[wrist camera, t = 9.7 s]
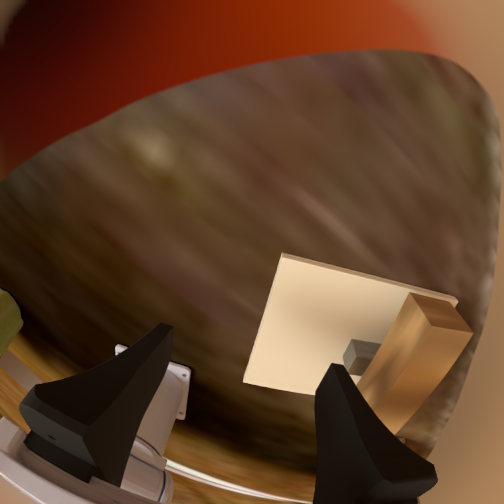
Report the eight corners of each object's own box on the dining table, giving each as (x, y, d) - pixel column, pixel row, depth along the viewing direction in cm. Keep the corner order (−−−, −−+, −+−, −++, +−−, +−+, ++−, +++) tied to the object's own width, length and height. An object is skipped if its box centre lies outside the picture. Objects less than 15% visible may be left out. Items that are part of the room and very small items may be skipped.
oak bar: (370, 419, 23) (377, 451, 20) (334, 416, 23) (337, 451, 20) (449, 301, 18) (473, 333, 14) (409, 292, 18) (431, 326, 14)
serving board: (390, 397, 26) (392, 402, 25) (244, 376, 26) (243, 382, 25) (454, 296, 21) (458, 301, 20) (281, 252, 21) (281, 256, 20)
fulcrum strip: (407, 365, 23) (414, 381, 21) (342, 356, 23) (345, 374, 21) (417, 349, 22) (425, 365, 20) (351, 338, 22) (356, 356, 20)
